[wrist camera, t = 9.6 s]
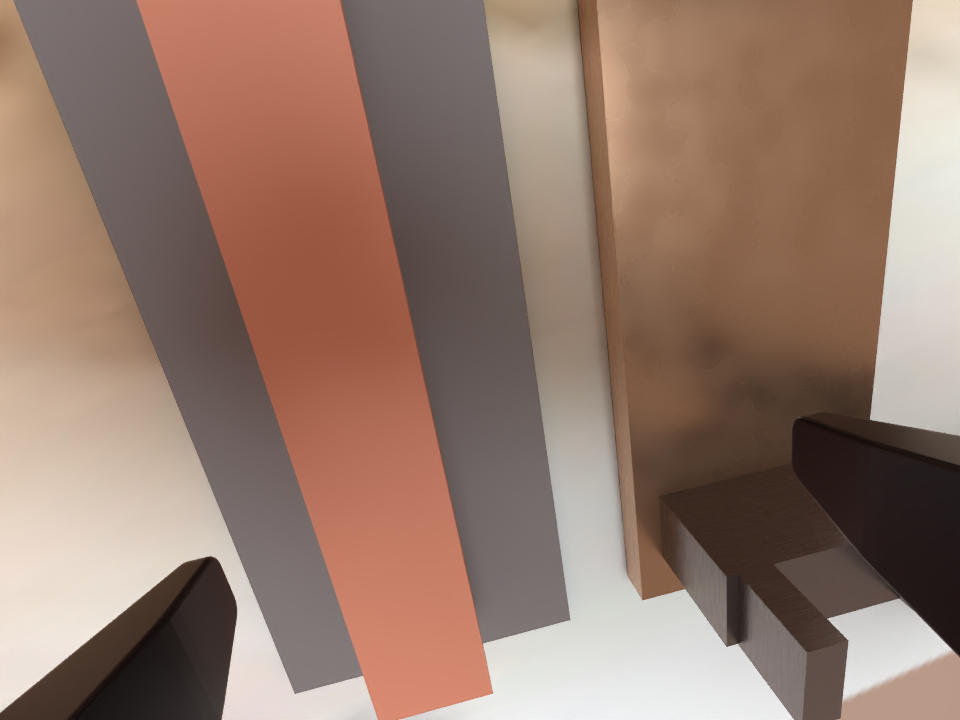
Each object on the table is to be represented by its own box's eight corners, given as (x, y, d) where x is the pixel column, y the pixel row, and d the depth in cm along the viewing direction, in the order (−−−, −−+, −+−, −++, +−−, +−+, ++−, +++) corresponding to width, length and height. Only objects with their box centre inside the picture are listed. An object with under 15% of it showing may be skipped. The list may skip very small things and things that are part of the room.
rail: (475, 607, 23) (493, 693, 19) (380, 632, 22) (379, 724, 19) (300, -187, 14) (269, -320, 10) (134, -168, 13) (34, -301, 9)
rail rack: (831, 521, 25) (1051, 697, 17) (627, 575, 24) (754, 789, 16) (895, -286, 15) (1505, -826, 7) (555, -250, 14) (793, -824, 6)
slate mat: (566, 609, 24) (570, 619, 24) (297, 681, 23) (295, 693, 23) (437, -289, 14) (439, -309, 13) (-71, -239, 13) (-92, -258, 12)
